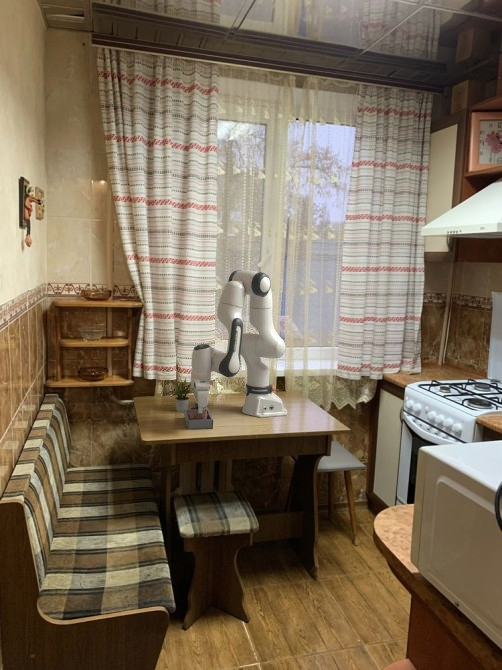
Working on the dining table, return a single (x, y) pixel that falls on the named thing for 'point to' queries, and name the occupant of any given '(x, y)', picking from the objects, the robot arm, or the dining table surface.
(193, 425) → the cell holder
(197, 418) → the red grey packet
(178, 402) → the house plant
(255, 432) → the dining table surface
